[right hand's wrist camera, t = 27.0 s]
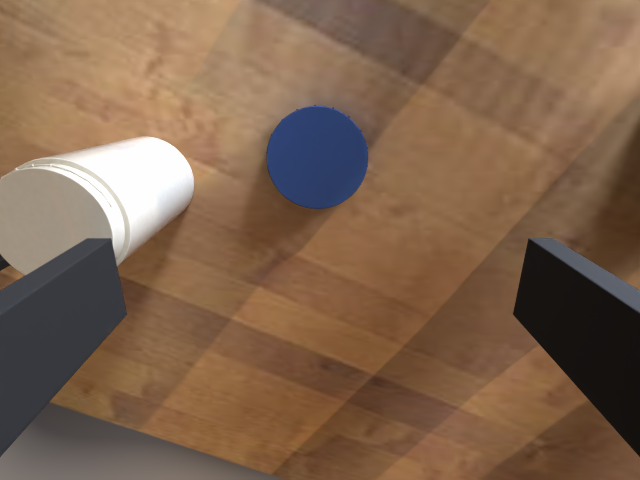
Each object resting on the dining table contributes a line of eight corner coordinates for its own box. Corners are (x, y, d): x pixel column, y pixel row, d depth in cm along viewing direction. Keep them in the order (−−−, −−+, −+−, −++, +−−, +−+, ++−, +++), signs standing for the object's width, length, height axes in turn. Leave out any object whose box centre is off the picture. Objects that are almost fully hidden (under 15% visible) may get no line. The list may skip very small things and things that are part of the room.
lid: (358, 209, 38) (359, 214, 36) (264, 197, 38) (261, 202, 36) (374, 113, 35) (377, 114, 33) (272, 98, 35) (270, 98, 33)
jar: (112, 125, 35) (-24, 143, 21) (201, 151, 36) (126, 185, 22) (103, 208, 38) (-22, 272, 24) (186, 230, 39) (111, 305, 25)
